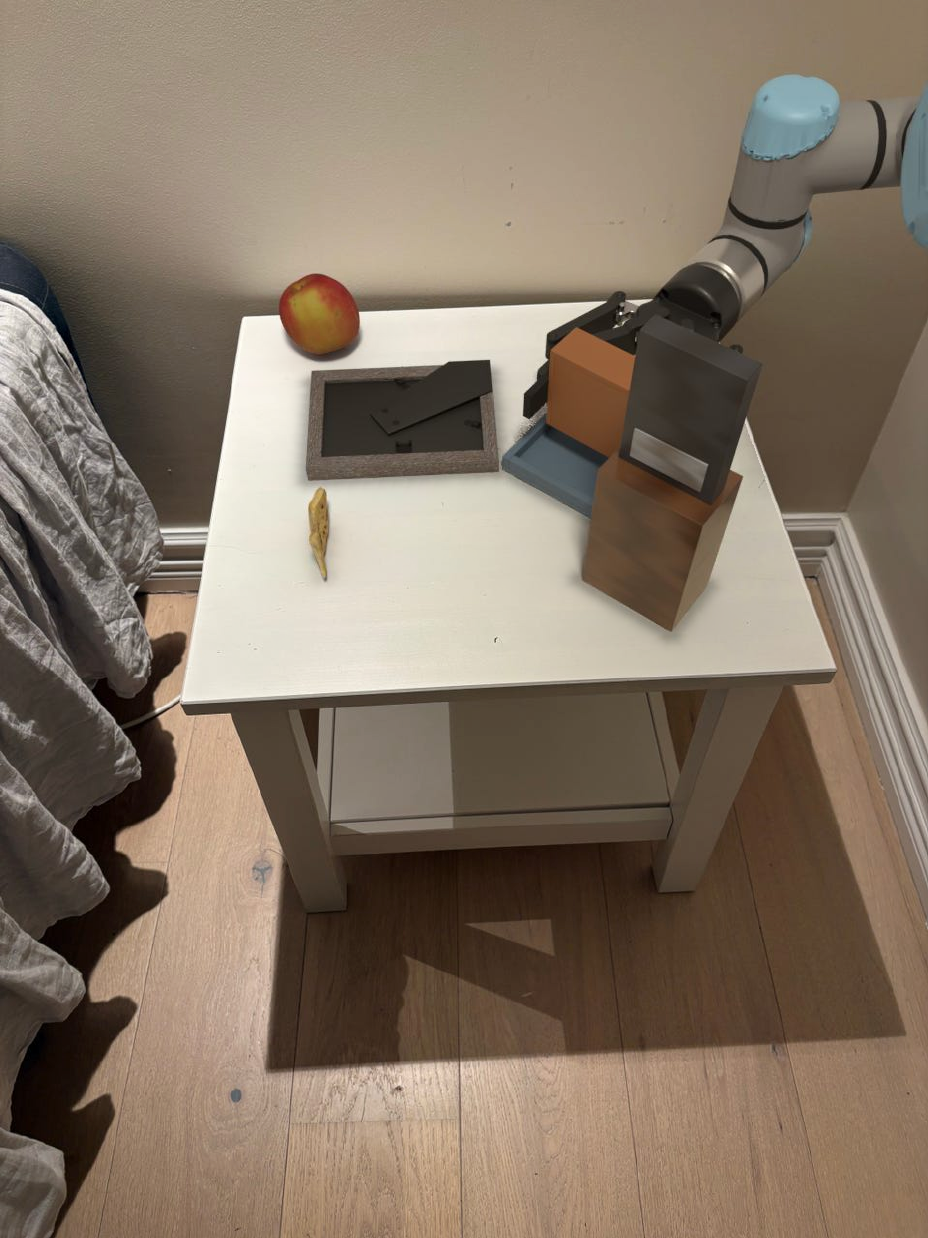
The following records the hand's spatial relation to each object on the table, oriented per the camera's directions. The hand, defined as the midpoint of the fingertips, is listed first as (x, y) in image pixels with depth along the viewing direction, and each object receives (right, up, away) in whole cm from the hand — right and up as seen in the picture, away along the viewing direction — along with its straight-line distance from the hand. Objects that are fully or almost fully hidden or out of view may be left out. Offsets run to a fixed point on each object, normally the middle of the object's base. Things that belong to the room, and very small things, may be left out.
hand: (576, 432), depth 83 cm
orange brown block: (+3, +1, +5) cm, 6 cm away
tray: (+3, -1, +8) cm, 9 cm away
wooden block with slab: (+6, -13, 0) cm, 14 cm away
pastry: (-22, -10, +3) cm, 25 cm away
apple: (-24, +13, +18) cm, 33 cm away
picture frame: (-16, +3, +12) cm, 20 cm away
